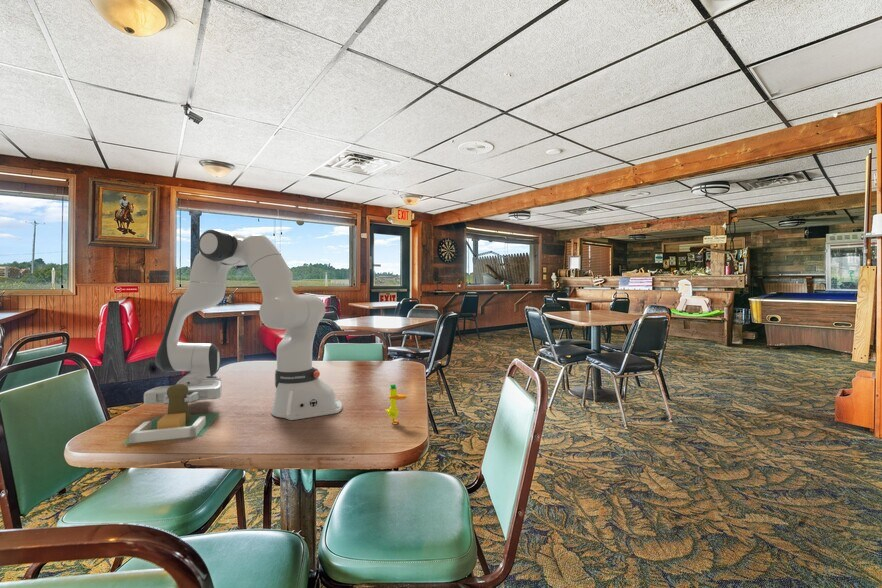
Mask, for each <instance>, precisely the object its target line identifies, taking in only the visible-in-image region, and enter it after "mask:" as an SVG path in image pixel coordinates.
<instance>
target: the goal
mask: <svg viewBox="0 0 882 588" xmlns="http://www.w3.org/2000/svg"><path fill="white" fill-rule="evenodd" d="M205 424H206V416H200V417H199V418H198V419H197V420H196V421H195V422H194V424H193V425H192V426H187V427H177V428H166V429H156V430H151V420H146V421H145V420H144V421H143V422H142V423H141V424H140V425H139V426H138V427H136V428H135V429H133V430H132V431H131V432H130V433H129V437H128V439H129V443H133V444H139V443H138V442H143V443H148V442H147V441H152V442H158V441H157V440H162V441H168V440H167V439H172V440H178V439H177V438H182V439H187V438H186V437H191V438H197V437H196V436H197V434H198V433H199V432H200V431H201V429H202V428H203V427H204V426H205Z"/></svg>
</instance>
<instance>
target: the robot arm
mask: <svg viewBox="0 0 882 588" xmlns="http://www.w3.org/2000/svg"><path fill="white" fill-rule="evenodd" d="M197 248H198V251H199V253H197V255H196V256H195V257H194V259H193V262H192V264H191V265H192V266H191V270H190V273H189V283H188V286H187V289H186V291H185V292H184V293H183V294H182V295H178V296H177V298H176V299H175V301H174V303H173V306H172V308H171V311H170V313H169V317H168V318H167V319H168V320H167V324H166V326H165V329H164V332H163V336H162V339H161V342H160V344H159V346H158V349H157V351H156V353H155V357H154V358H155V359H154V363H155V366H156V367H157V368H158V369H159V370H161V371H162V372H164V373H169V372H170V373H171V372H173V373H174V372H189V373H188V374H186V375H184V376H183V377H181V378H180V379H179V380H178V381H177V382H176V384H184V385H186V386H187V387H188V393H187V395H186V396H185V398H184V399H185V401H184V402H185V403H186V402H188V404H193V403H195V402H198V401H205V400H206V401H207V400H217V399H220V398H222V396H223V382H222V377H221V376H217V373H218V372H219V370H220V367H221V364H222V353H221V351H220V349H219V348H218V347H217V346H216V345H215V343H208V342H207V343H205V342H180V341H179V339H180V336H181V333H182V331H183V326H184V323H185V320H186V318H187V317H188V316H190V315H191V314H193V313H196V312H199V311H204V310H207V309H211V308H213V307H215V306H217V305H219V304H220V303H221V302H223V299H224V298H225V295H226V289H227V277H228V273H229V270H230V269H231V268H234V269H236V270H238V269H243V268H246V267H247V268H248V269H249V270H250V272H251V274H252V276H253V277H254V279H255V281H256V283H257V285H258V286H259V289H260V291H261V294H262V303H261V305H260V307H259V313H258V314H259V318H260V321H261V322H262V324H263V325H264V326H265V327H267V328H269V329H275V330H285V333H284V335H283V338H282V339H281V341H279V343H278V344H277V347H276V369H275V372H274V387H275V392H274V393H275V394H274V395H275V396H274V400H273V403H272V404H273V405H272V409H271V412H270V414H271V415H272V416H274V417H276V418H283V419H287V420H288V421H294V420H300V419H308V418H314V417H315V418H316V417H320V416H329V415H333V414H334V415H335V414H338V413H339V412H341V411H342V409H343V404H342V402H341V400H339V399H337V398H336V395H335V391H334V389H333V387H332V386H331V385H329V384H328V383H326V382H324V381H323V380H321V379H320V378H319V377H320V375H321V373H320V371H319V369H318V368H317V367H316V368H315V367H314V366H313V348H314V347H313V345H314V340H315V336H316V334H317V330H318V327H319V324H320V322H321V320H322V319H323V318H324V316H325V315H326V305H325V302H324V301H323V300H322V299H321V298H319V297H318V296H315V295H312V294H305V293H304V294H303V293H302V294H297V293H295V291H294V290H293V288H292V284H291V283H292V281H293V278H294V276H293V275H294V274H293V272H292V271H291V269H290V268H289V265H288V263H286V261H285V259H284V258H283V255H282V254H281V253H280V250H278V248H277V247H276V246H275V244H274V243H273V242H272V241H271V240H270V239H269V238H268V237H267V236H266V235H264V234H261V233H256V234H251V235H249V236H243V235H241V234H238V233H235V232H232V231H225V230H224V229H223V230H222V229H217V228H216V229H213V228H212V229H207V230H206V231H204V232H203V233H201V234H200V236H199V238H198V242H197ZM176 384H175V385H176ZM170 386H171V385H163V386H156V387H154V388H151V389H147V391H145V392H144V393H143V403H144V404H145V405H154V404H155V405H156V404H163V405H169V397H168V396H167V389H168V388H169V387H170Z"/></svg>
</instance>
